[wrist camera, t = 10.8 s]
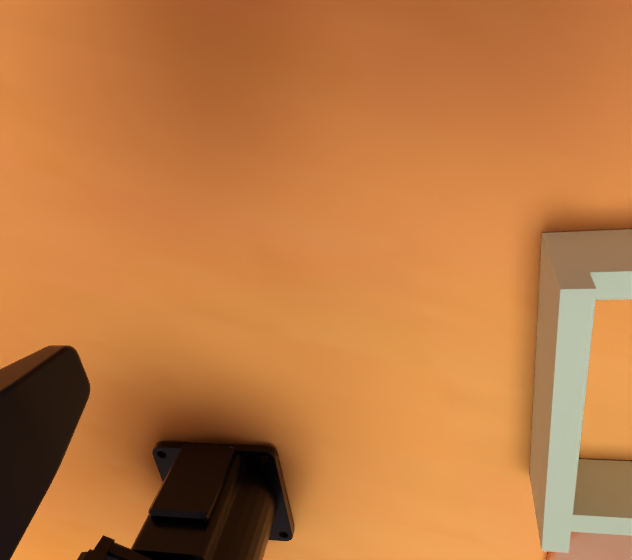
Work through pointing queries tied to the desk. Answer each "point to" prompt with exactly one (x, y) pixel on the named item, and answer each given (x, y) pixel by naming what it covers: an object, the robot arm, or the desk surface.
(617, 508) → the pale grey rectangular frame
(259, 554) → the robot arm
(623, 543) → the terracotta saucer
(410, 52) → the desk surface
